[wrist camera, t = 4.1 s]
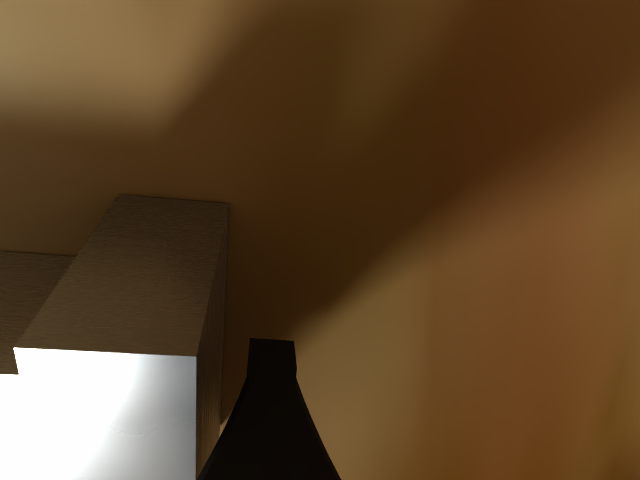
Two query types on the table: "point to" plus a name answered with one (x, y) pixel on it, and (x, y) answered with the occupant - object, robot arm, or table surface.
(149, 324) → the steel key pin
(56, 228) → the table surface
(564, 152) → the table surface
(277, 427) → the robot arm
